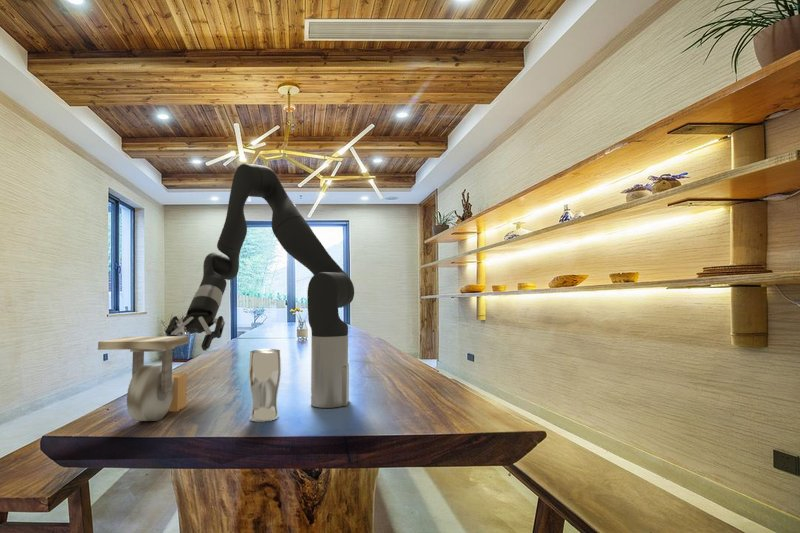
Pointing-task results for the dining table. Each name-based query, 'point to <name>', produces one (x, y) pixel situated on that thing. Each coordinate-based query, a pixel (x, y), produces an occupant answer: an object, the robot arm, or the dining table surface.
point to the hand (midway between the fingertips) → (187, 348)
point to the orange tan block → (179, 392)
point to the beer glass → (264, 383)
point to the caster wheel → (148, 374)
